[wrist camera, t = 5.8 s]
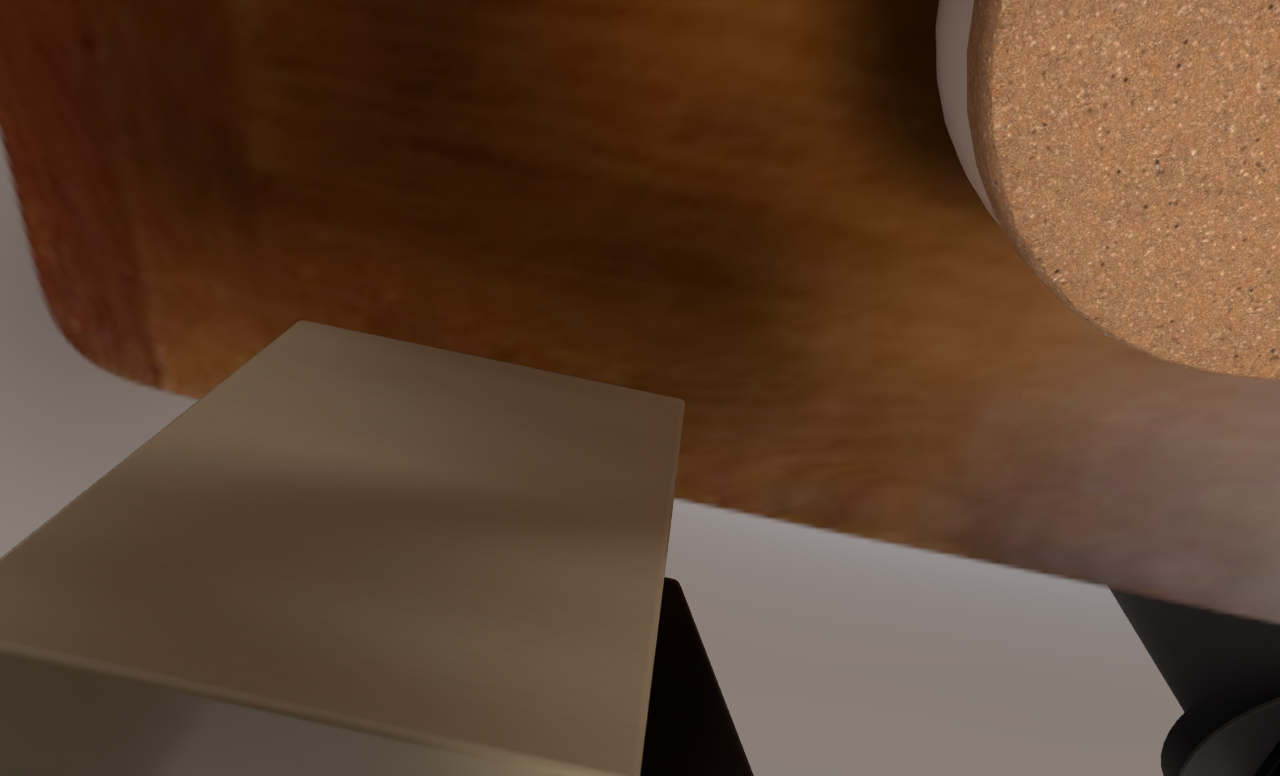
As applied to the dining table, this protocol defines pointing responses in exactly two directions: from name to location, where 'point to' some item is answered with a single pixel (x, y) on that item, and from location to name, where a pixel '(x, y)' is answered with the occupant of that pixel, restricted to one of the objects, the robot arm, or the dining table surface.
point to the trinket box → (1131, 162)
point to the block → (353, 577)
